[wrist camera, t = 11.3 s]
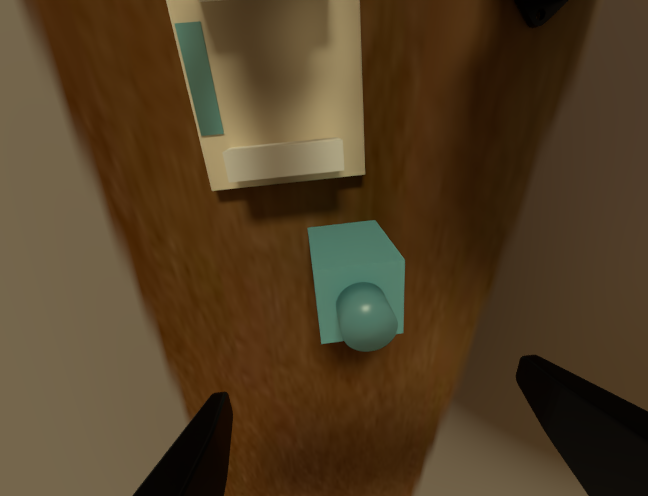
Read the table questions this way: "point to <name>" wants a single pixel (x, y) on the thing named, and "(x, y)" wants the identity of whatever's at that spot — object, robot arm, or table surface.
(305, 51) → the backplate with mounted blocks
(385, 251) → the teal plug
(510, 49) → the table surface
